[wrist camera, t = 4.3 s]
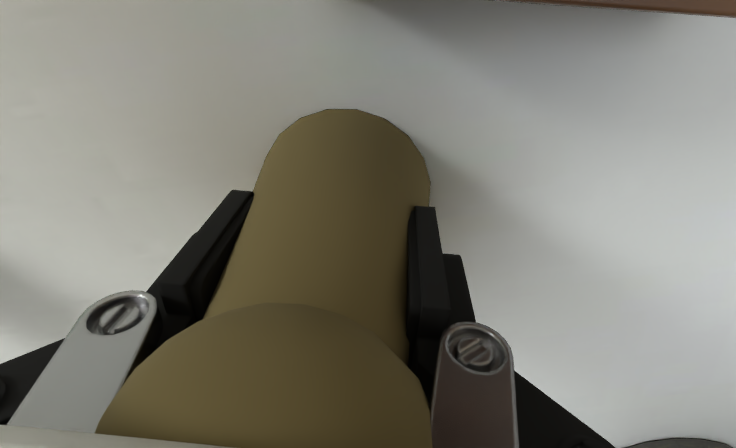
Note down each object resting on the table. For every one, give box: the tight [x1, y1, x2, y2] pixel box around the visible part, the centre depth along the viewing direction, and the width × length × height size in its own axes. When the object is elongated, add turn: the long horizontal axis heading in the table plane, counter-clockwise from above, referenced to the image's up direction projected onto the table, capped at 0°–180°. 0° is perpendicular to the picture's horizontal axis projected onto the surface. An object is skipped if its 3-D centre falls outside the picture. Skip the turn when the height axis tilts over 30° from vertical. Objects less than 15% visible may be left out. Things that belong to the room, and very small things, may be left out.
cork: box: [95, 109, 433, 448], centre depth 9 cm, size 6×6×11 cm
